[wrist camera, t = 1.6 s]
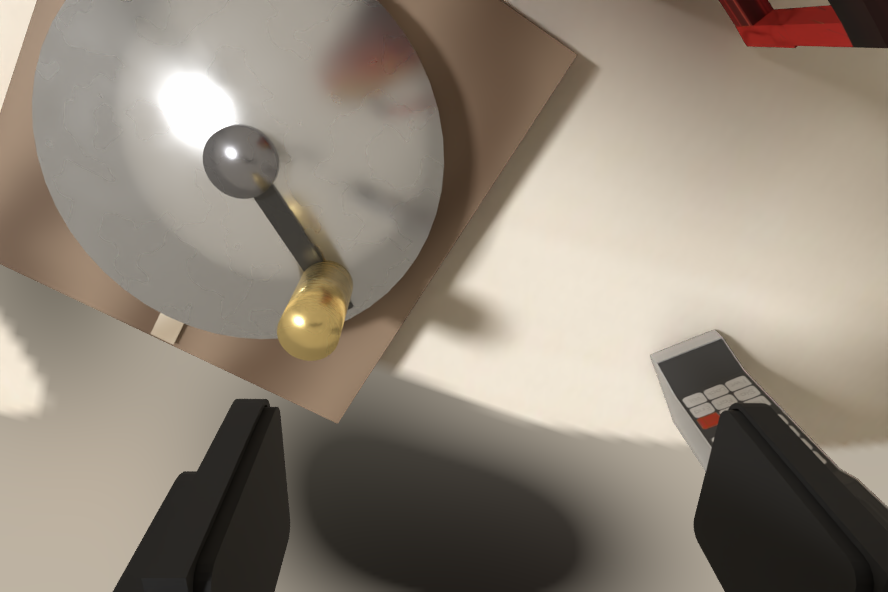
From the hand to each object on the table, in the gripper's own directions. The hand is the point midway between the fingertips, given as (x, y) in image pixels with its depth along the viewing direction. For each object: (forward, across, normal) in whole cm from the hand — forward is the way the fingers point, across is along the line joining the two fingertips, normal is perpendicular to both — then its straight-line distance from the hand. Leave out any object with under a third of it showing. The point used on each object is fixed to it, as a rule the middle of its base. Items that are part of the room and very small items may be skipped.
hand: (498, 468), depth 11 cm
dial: (+19, +9, -2) cm, 21 cm away
